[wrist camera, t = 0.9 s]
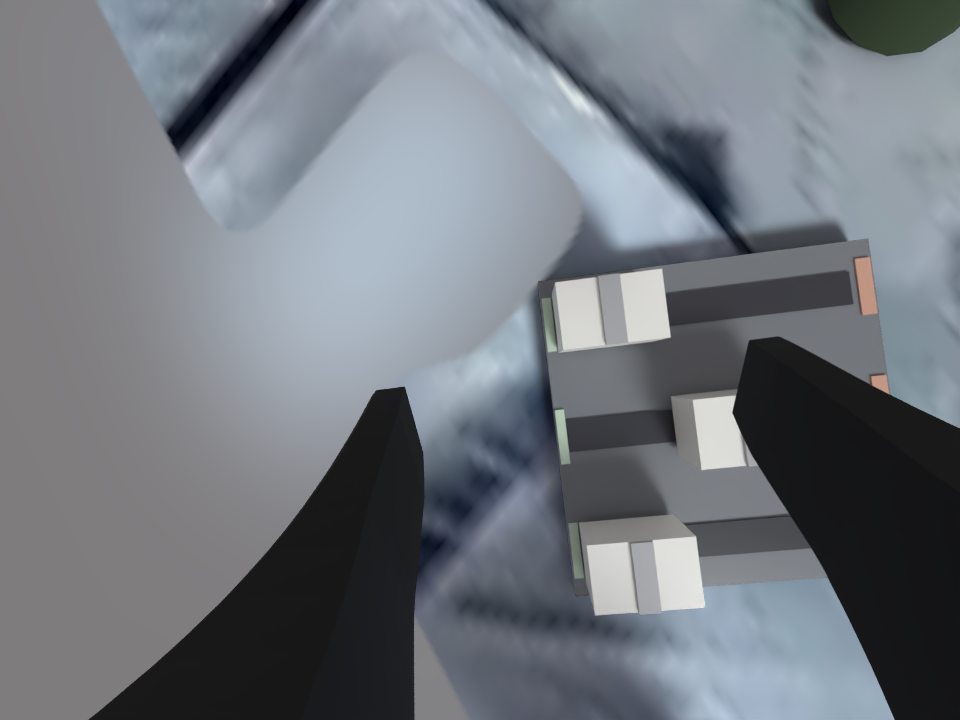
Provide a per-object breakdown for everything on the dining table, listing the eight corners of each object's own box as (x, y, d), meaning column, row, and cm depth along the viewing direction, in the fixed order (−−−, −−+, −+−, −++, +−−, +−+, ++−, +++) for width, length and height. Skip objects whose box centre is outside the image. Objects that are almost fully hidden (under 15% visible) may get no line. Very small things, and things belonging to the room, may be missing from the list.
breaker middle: (775, 447, 22) (818, 460, 19) (678, 456, 22) (703, 470, 19) (767, 385, 22) (808, 388, 19) (670, 395, 22) (694, 400, 19)
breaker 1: (651, 342, 22) (672, 336, 19) (558, 352, 23) (563, 349, 20) (644, 282, 22) (663, 267, 19) (551, 294, 23) (555, 281, 20)
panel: (894, 560, 23) (917, 571, 21) (573, 585, 24) (576, 597, 23) (850, 245, 23) (869, 237, 22) (537, 285, 24) (538, 281, 23)
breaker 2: (681, 575, 22) (707, 610, 19) (586, 583, 22) (595, 618, 19) (673, 514, 22) (697, 538, 19) (578, 522, 22) (587, 547, 19)
